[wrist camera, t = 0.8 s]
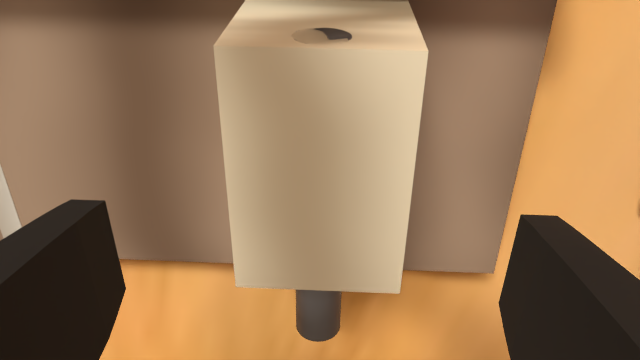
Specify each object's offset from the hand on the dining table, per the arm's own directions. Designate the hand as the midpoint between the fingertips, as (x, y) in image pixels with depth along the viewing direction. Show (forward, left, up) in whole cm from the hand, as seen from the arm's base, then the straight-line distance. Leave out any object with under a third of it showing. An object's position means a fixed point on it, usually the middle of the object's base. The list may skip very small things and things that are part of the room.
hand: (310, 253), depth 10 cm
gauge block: (0, 0, -7) cm, 7 cm away
